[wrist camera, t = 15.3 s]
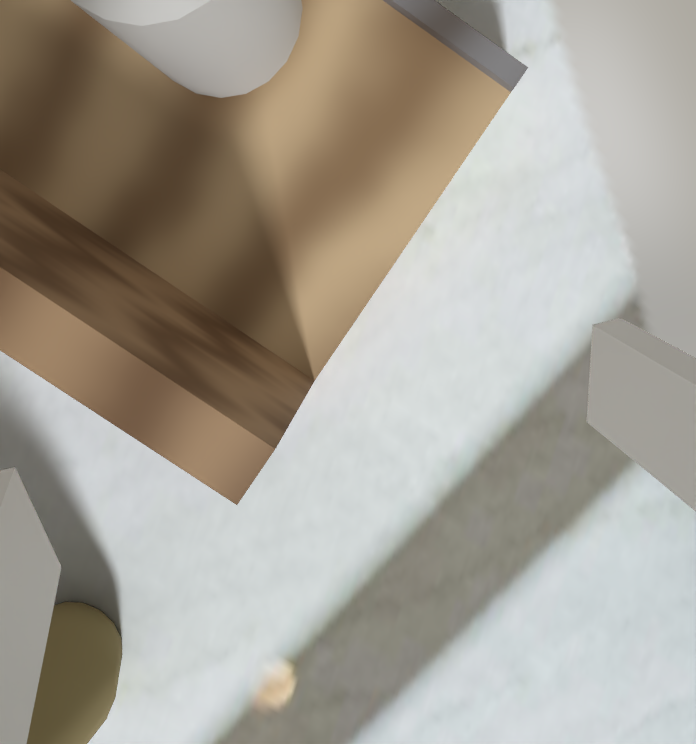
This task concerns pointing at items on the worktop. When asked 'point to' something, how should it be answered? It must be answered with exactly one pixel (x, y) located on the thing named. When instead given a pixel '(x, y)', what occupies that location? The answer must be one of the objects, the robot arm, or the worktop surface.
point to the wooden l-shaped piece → (220, 212)
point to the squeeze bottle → (76, 676)
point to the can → (206, 38)
